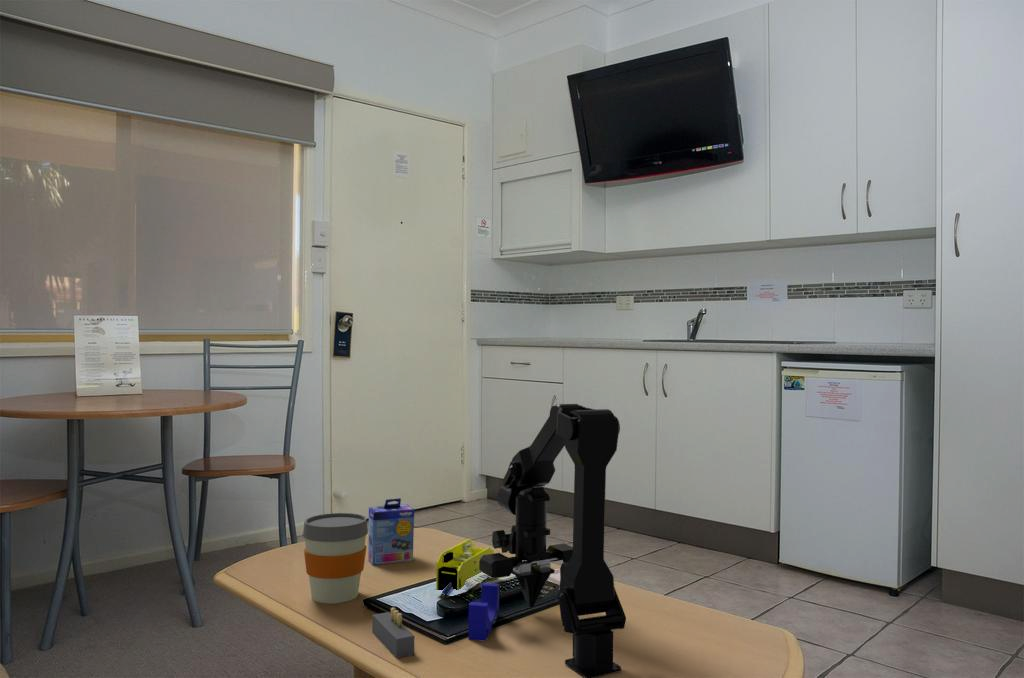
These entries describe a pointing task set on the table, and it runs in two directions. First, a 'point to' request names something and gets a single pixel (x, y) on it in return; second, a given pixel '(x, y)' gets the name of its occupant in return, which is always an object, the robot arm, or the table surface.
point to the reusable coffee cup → (335, 555)
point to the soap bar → (555, 576)
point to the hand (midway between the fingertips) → (530, 606)
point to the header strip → (393, 633)
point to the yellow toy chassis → (459, 564)
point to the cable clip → (483, 612)
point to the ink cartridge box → (391, 533)
